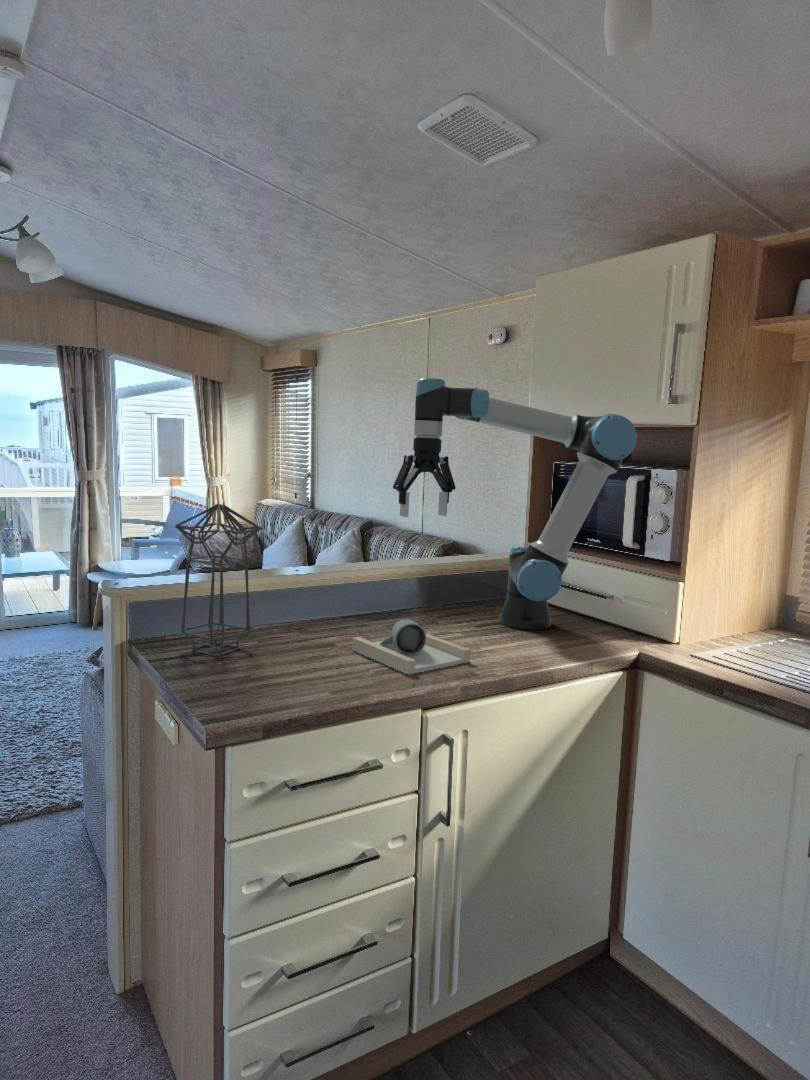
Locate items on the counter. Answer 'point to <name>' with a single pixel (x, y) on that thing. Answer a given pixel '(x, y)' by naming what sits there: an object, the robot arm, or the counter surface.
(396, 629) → the ceramic mug
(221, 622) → the geometric lantern
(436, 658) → the rail tray
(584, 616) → the counter surface
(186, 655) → the counter surface
